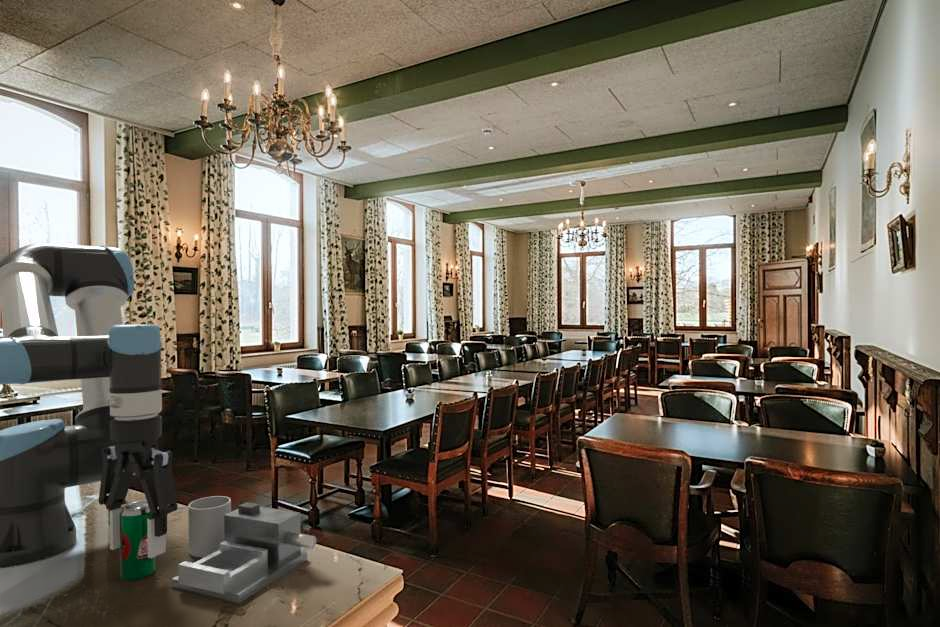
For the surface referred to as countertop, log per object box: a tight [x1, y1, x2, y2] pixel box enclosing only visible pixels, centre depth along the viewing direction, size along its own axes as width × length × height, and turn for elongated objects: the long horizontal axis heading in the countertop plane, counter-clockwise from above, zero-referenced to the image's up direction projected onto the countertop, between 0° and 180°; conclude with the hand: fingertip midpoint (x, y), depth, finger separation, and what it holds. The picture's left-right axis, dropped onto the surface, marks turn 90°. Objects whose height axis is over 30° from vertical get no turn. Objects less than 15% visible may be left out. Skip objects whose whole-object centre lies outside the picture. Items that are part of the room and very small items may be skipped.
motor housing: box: [171, 501, 317, 604], centre depth 93 cm, size 18×17×10 cm
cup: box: [187, 495, 232, 558], centre depth 104 cm, size 7×10×9 cm
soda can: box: [119, 500, 156, 582], centre depth 93 cm, size 5×5×12 cm
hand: (137, 550), depth 93 cm, fingers open, 8 cm apart
